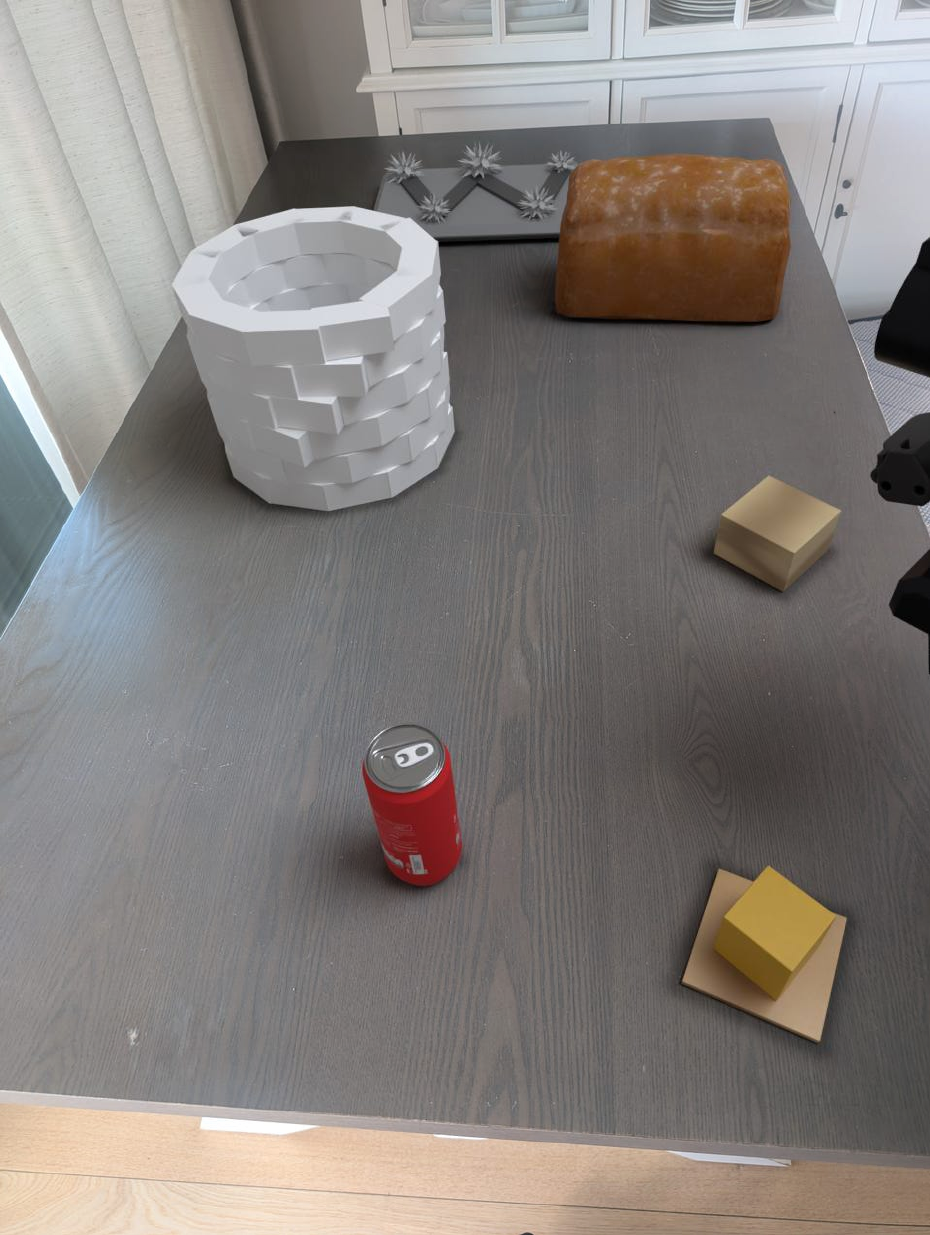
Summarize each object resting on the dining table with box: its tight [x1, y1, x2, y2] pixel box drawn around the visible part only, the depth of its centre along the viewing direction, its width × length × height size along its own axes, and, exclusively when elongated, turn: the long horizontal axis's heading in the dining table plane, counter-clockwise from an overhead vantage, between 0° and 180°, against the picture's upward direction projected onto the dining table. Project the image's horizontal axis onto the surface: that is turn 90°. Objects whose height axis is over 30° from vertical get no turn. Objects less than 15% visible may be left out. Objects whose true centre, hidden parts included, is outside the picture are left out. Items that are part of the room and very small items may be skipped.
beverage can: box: [361, 722, 463, 887], centre depth 56 cm, size 5×5×12 cm
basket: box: [170, 205, 456, 512], centre depth 86 cm, size 25×24×19 cm
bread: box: [554, 153, 792, 323], centre depth 102 cm, size 14×26×16 cm, turn 81°
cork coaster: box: [681, 868, 848, 1044], centre depth 54 cm, size 8×8×1 cm
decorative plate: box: [372, 140, 580, 243], centre depth 125 cm, size 30×22×7 cm
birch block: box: [713, 475, 842, 593], centre depth 76 cm, size 7×7×4 cm
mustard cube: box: [713, 865, 836, 1001], centre depth 53 cm, size 4×4×4 cm
